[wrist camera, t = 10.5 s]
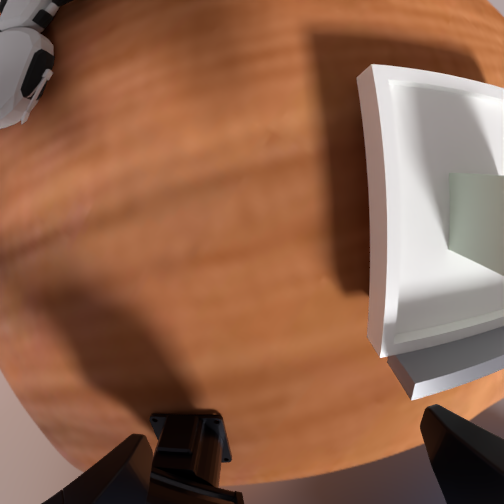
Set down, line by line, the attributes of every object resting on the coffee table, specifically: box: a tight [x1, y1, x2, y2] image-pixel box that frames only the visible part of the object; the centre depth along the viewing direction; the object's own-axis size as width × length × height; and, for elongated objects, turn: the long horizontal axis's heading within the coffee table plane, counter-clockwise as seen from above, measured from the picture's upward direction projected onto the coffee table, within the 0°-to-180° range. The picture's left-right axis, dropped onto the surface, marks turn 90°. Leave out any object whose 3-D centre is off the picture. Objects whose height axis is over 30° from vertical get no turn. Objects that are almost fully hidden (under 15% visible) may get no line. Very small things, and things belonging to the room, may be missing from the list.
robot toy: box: [0, 0, 73, 129], centre depth 14 cm, size 12×4×15 cm
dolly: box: [356, 64, 504, 400], centre depth 15 cm, size 17×14×8 cm
